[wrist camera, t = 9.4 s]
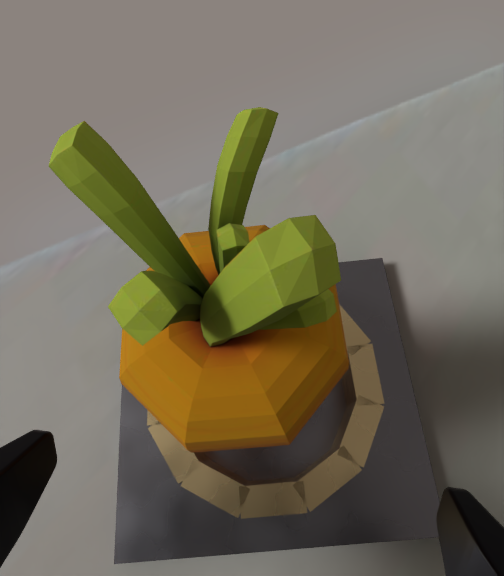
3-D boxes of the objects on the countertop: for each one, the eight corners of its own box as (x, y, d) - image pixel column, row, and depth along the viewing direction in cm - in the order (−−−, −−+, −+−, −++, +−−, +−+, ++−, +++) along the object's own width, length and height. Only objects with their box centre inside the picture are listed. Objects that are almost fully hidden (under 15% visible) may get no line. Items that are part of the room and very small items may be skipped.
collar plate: (439, 532, 16) (477, 551, 13) (121, 558, 16) (85, 583, 13) (378, 265, 21) (395, 232, 17) (131, 290, 21) (106, 262, 18)
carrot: (188, 373, 18) (-109, 119, 5) (283, 324, 19) (276, -33, 5) (235, 480, 16) (-38, 606, 3) (339, 423, 17) (569, 275, 3)
